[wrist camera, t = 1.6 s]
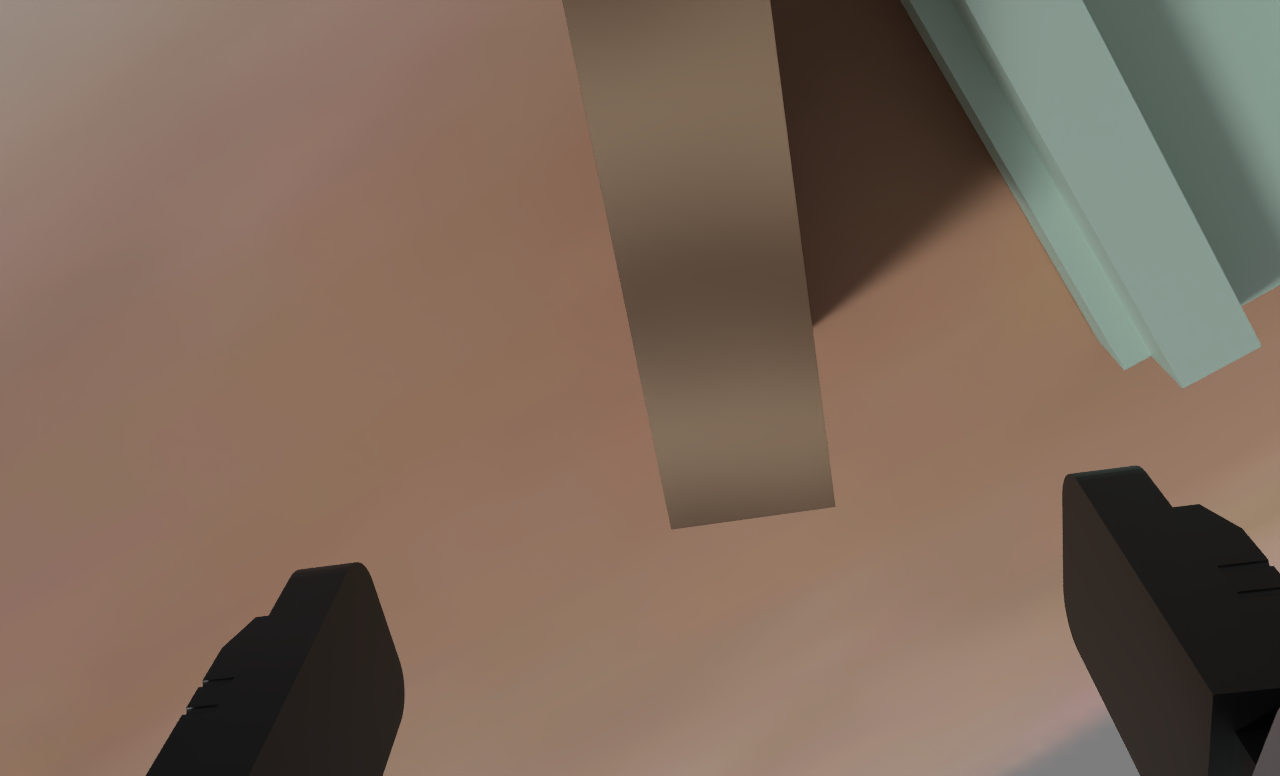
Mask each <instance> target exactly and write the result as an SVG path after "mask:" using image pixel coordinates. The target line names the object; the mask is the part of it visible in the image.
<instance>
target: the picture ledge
mask: <svg viewBox="0 0 1280 776" xmlns="http://www.w3.org/2000/svg"><path fill="white" fill-rule="evenodd" d="M900 2H901V3H902V5H903V7H904V8H905V10H906V12H907V14H908V15H909V17H910V19H911V20H912V22H913V24H914V26H915V27H916V29H917V31H918V32H919V34H920V36H921V37H922V39H923V41H924V43H925V44H926V46H927V48H928V49H929V51H930V53H931V55H932V56H933V58H934V60H935V61H936V63H937V65H938V67H939V68H940V70H941V72H942V73H943V75H944V77H945V79H946V80H947V82H948V84H949V85H950V87H951V89H952V91H953V92H954V94H955V96H956V97H957V99H958V101H959V103H960V104H961V106H962V108H963V109H964V111H965V113H966V115H967V116H968V118H969V120H970V121H971V123H972V125H973V127H974V128H975V130H976V132H977V133H978V135H979V137H980V139H981V140H982V142H983V144H984V145H985V147H986V149H987V151H988V152H989V154H990V156H991V157H992V159H993V161H994V163H995V164H996V166H997V168H998V169H999V171H1000V173H1001V175H1002V176H1003V178H1004V180H1005V181H1006V183H1007V185H1008V187H1009V188H1010V190H1011V192H1012V193H1013V195H1014V197H1015V199H1016V200H1017V202H1018V204H1019V205H1020V207H1021V209H1022V211H1023V212H1024V214H1025V216H1026V217H1027V219H1028V221H1029V223H1030V224H1031V226H1032V228H1033V229H1034V231H1035V233H1036V235H1037V236H1038V238H1039V240H1040V241H1041V243H1042V245H1043V247H1044V248H1045V250H1046V252H1047V253H1048V255H1049V257H1050V259H1051V260H1052V262H1053V264H1054V265H1055V267H1056V269H1057V271H1058V272H1059V274H1060V276H1061V277H1062V279H1063V281H1064V283H1065V284H1066V286H1067V288H1068V289H1069V291H1070V293H1071V295H1072V296H1073V298H1074V300H1075V301H1076V303H1077V305H1078V307H1079V308H1080V310H1081V312H1082V313H1083V315H1084V317H1085V319H1086V320H1087V322H1088V324H1089V325H1090V327H1091V329H1092V331H1093V332H1094V334H1095V336H1096V337H1097V339H1098V341H1099V342H1100V343H1101V344H1102V345H1103V347H1104V348H1105V349H1106V350H1107V351H1108V352H1109V353H1110V355H1111V356H1112V357H1113V358H1114V359H1115V360H1116V361H1117V363H1118V364H1119V365H1120V366H1121V367H1122V368H1123V369H1124V370H1126V369H1128V368H1130V367H1132V366H1134V365H1135V364H1137V363H1139V362H1141V361H1143V360H1144V359H1146V358H1148V357H1150V356H1152V357H1153V358H1154V359H1155V360H1156V361H1157V362H1158V363H1159V364H1160V365H1161V366H1162V368H1163V369H1164V370H1165V371H1166V372H1167V373H1168V374H1169V375H1170V376H1171V377H1172V378H1173V379H1174V380H1175V381H1176V382H1177V383H1178V384H1179V385H1180V386H1181V387H1182V388H1185V387H1187V386H1189V385H1191V384H1193V383H1194V382H1196V381H1198V380H1200V379H1202V378H1204V377H1206V376H1207V375H1209V374H1211V373H1213V372H1215V371H1217V370H1219V369H1220V368H1222V367H1224V366H1226V365H1228V364H1230V363H1232V362H1233V361H1235V360H1237V359H1239V358H1241V357H1243V356H1245V355H1246V354H1248V353H1250V352H1252V351H1254V350H1256V349H1258V348H1259V347H1261V344H1260V342H1259V340H1258V338H1257V336H1256V334H1255V332H1254V330H1253V328H1252V326H1251V324H1250V322H1249V320H1248V319H1247V317H1246V315H1245V313H1244V311H1243V309H1242V307H1241V306H1242V305H1244V304H1246V303H1248V302H1250V301H1251V300H1253V299H1255V298H1257V297H1259V296H1261V295H1262V294H1264V293H1266V292H1268V291H1270V290H1271V289H1273V288H1275V287H1277V286H1279V285H1280V0H900Z"/></svg>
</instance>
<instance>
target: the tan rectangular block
mask: <svg viewBox="0 0 1280 776" xmlns="http://www.w3.org/2000/svg"><path fill="white" fill-rule="evenodd" d="M562 1H563V6H564V11H565V16H566V21H567V26H568V30H569V35H570V40H571V45H572V50H573V55H574V60H575V64H576V69H577V74H578V79H579V84H580V89H581V93H582V98H583V103H584V108H585V113H586V118H587V123H588V127H589V132H590V137H591V142H592V147H593V152H594V156H595V161H596V166H597V171H598V176H599V181H600V186H601V190H602V195H603V200H604V205H605V210H606V215H607V219H608V224H609V229H610V234H611V239H612V244H613V249H614V253H615V258H616V263H617V268H618V273H619V278H620V282H621V287H622V292H623V297H624V302H625V307H626V312H627V316H628V321H629V326H630V331H631V336H632V341H633V345H634V350H635V355H636V360H637V365H638V370H639V375H640V379H641V384H642V389H643V394H644V399H645V404H646V408H647V413H648V418H649V423H650V428H651V433H652V438H653V442H654V447H655V452H656V457H657V462H658V467H659V471H660V476H661V481H662V486H663V491H664V496H665V501H666V505H667V510H668V515H669V520H670V525H671V529H678V528H685V527H693V526H700V525H707V524H714V523H722V522H729V521H736V520H743V519H751V518H758V517H765V516H772V515H780V514H787V513H794V512H801V511H809V510H816V509H823V508H830V507H835V500H834V492H833V484H832V477H831V469H830V461H829V453H828V446H827V438H826V430H825V422H824V415H823V407H822V399H821V391H820V384H819V376H818V368H817V360H816V352H815V345H814V337H813V329H812V321H811V314H810V306H809V298H808V290H807V283H806V275H805V267H804V259H803V252H802V244H801V236H800V228H799V221H798V213H797V205H796V197H795V190H794V182H793V174H792V166H791V159H790V151H789V143H788V135H787V127H786V120H785V112H784V104H783V96H782V89H781V81H780V73H779V65H778V58H777V50H776V42H775V34H774V27H773V19H772V11H771V3H770V0H562Z"/></svg>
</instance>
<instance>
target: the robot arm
mask: <svg viewBox="0 0 1280 776" xmlns="http://www.w3.org/2000/svg"><path fill="white" fill-rule="evenodd" d="M1062 507H1063V590H1064V602H1065V609H1066V614H1067V619H1068V623H1069V627H1070V631H1071V634H1072V637H1073V640H1074V642H1075V645H1076V647H1077V649H1078V651H1079V653H1080V655H1081V657H1082V659H1083V661H1084V663H1085V665H1086V667H1087V670H1088V672H1089V674H1090V676H1091V678H1092V680H1093V682H1094V684H1095V686H1096V688H1097V690H1098V692H1099V694H1100V696H1101V698H1102V700H1103V702H1104V704H1105V706H1106V708H1107V710H1108V712H1109V714H1110V716H1111V718H1112V720H1113V722H1114V724H1115V726H1116V728H1117V730H1118V732H1119V734H1120V736H1121V738H1122V739H1123V742H1124V744H1125V746H1126V748H1127V750H1128V751H1129V754H1130V756H1131V758H1132V760H1133V761H1134V764H1135V766H1136V768H1137V770H1138V772H1139V774H1140V776H1280V573H1279V572H1278V571H1277V570H1276V568H1275V567H1274V566H1269V562H1268V559H1267V558H1266V556H1265V555H1264V554H1263V553H1262V552H1261V550H1260V549H1259V548H1258V547H1257V546H1256V545H1255V543H1254V542H1253V541H1252V540H1251V539H1250V537H1249V536H1248V535H1247V534H1246V533H1245V531H1244V530H1243V529H1242V528H1240V527H1238V526H1237V525H1235V524H1233V523H1231V522H1230V521H1228V520H1226V519H1224V518H1223V517H1221V516H1219V515H1217V514H1216V513H1214V512H1212V511H1210V510H1208V509H1207V508H1205V507H1203V506H1201V505H1200V504H1197V505H1189V506H1181V507H1172V506H1171V505H1170V503H1169V502H1168V501H1167V500H1166V498H1165V497H1164V496H1163V494H1162V493H1161V492H1160V490H1159V489H1158V488H1157V486H1156V485H1155V484H1154V482H1153V481H1152V480H1151V478H1150V477H1149V476H1148V474H1147V473H1146V472H1145V471H1144V470H1143V468H1141V467H1140V466H1129V467H1121V468H1113V469H1105V470H1097V471H1089V472H1081V473H1074V474H1068V475H1067V476H1066V477H1065V479H1064V483H1063V492H1062ZM186 709H187V714H186V715H182V716H181V718H180V719H179V721H178V723H177V724H176V726H175V728H174V729H173V731H172V733H171V734H170V736H169V738H168V739H167V741H166V743H165V744H164V746H163V748H162V749H161V751H160V753H159V754H158V756H157V758H156V759H155V761H154V763H153V764H152V766H151V768H150V769H149V771H148V773H147V774H146V776H383V773H384V770H385V767H386V764H387V761H388V758H389V755H390V752H391V749H392V746H393V743H394V740H395V737H396V734H397V731H398V728H399V725H400V722H401V719H402V715H403V709H404V679H403V672H402V668H401V664H400V661H399V658H398V655H397V652H396V649H395V646H394V643H393V640H392V637H391V634H390V631H389V628H388V625H387V622H386V619H385V616H384V613H383V610H382V607H381V604H380V602H379V599H378V596H377V593H376V590H375V587H374V584H373V581H372V578H371V576H370V574H369V572H368V570H367V568H366V567H365V566H364V565H363V564H361V563H359V562H356V563H348V564H340V565H332V566H324V567H316V568H308V569H300V570H297V571H295V572H294V573H293V574H292V576H291V577H290V579H289V580H288V582H287V584H286V586H285V588H284V589H283V591H282V593H281V595H280V597H279V598H278V600H277V602H276V604H275V605H274V607H273V609H272V611H271V613H270V614H269V616H262V617H256V618H255V619H254V620H252V621H251V622H250V623H249V624H248V625H247V626H246V627H245V628H244V629H242V630H241V631H240V632H239V633H238V634H237V635H236V636H235V637H234V638H233V639H231V640H230V641H229V642H228V643H227V644H226V645H225V646H224V647H223V648H222V649H221V651H220V652H219V654H218V656H217V657H216V659H215V661H214V662H213V664H212V666H211V667H210V669H209V671H208V672H207V674H206V676H205V677H204V679H203V687H199V688H198V689H197V691H196V692H195V694H194V696H193V697H192V699H191V701H190V702H189V704H188V706H187V708H186Z"/></svg>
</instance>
